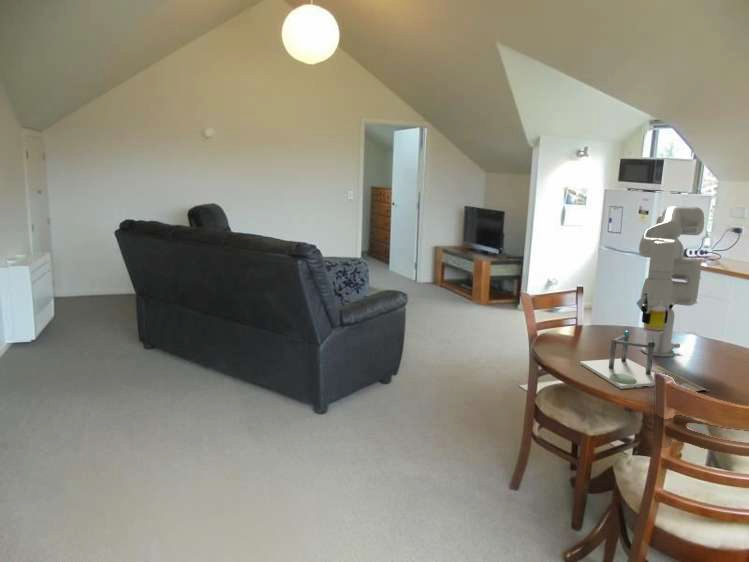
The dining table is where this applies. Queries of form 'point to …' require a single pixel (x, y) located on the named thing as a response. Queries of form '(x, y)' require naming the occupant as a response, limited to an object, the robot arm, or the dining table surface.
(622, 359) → the bent wire
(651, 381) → the buzz board
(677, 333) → the dining table surface
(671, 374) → the newspaper
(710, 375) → the dining table surface
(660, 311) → the supplement bottle
